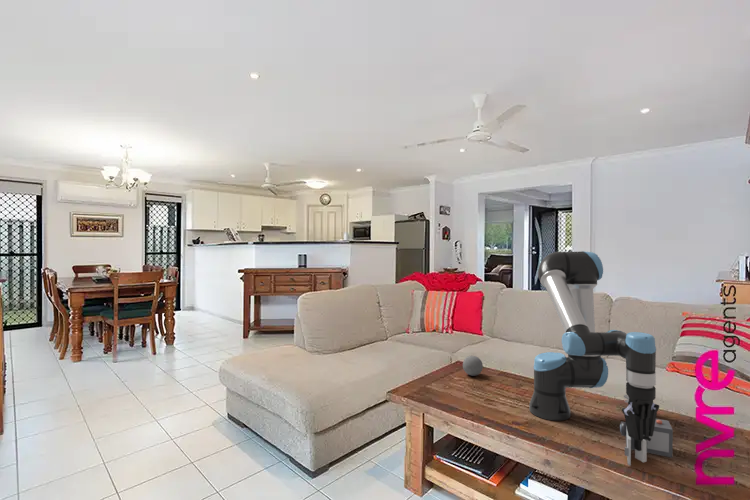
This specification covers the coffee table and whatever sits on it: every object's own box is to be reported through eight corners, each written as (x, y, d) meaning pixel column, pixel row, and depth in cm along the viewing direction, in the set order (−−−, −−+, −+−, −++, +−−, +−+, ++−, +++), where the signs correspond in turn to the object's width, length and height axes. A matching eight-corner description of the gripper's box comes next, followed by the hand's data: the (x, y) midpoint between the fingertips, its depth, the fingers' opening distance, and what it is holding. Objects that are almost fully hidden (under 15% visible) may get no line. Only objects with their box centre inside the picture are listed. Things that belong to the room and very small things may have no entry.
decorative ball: (463, 378, 199) (463, 358, 199) (462, 371, 209) (462, 352, 209) (483, 379, 198) (483, 359, 197) (481, 372, 208) (481, 353, 207)
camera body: (621, 447, 132) (621, 418, 132) (619, 438, 139) (619, 410, 138) (672, 457, 126) (672, 427, 126) (668, 447, 132) (668, 418, 132)
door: (623, 446, 132) (624, 422, 132) (630, 448, 131) (630, 424, 131) (624, 464, 122) (624, 438, 121) (631, 466, 121) (631, 440, 120)
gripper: (644, 377, 127) (644, 449, 128) (613, 382, 123) (614, 457, 124) (668, 385, 120) (668, 462, 121) (636, 391, 116) (636, 470, 117)
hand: (640, 459), depth 122 cm, fingers closed
